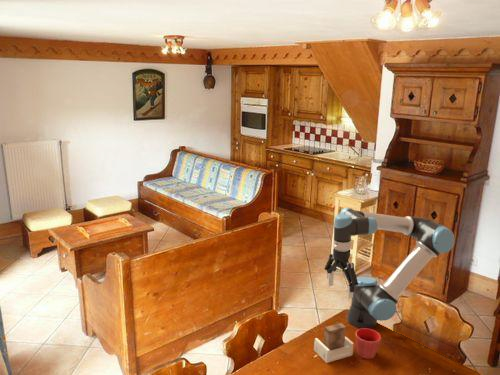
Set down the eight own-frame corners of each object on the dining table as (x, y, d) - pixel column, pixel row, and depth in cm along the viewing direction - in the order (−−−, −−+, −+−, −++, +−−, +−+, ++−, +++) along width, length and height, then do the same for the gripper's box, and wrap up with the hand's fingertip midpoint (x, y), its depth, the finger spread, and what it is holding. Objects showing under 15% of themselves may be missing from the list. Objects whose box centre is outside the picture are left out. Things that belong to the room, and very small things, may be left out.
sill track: (339, 343, 203) (340, 331, 202) (352, 355, 195) (353, 343, 193) (313, 350, 198) (314, 338, 196) (326, 363, 189) (327, 350, 187)
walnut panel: (327, 355, 192) (329, 331, 190) (322, 350, 196) (324, 327, 193) (343, 350, 196) (346, 326, 193) (339, 346, 199) (341, 322, 196)
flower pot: (379, 362, 190) (382, 343, 188) (354, 359, 192) (356, 339, 190) (377, 348, 200) (379, 329, 198) (353, 345, 202) (355, 326, 200)
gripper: (317, 241, 204) (316, 282, 209) (354, 260, 183) (352, 305, 188) (330, 238, 207) (328, 279, 213) (368, 256, 186) (365, 301, 192)
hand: (340, 291), depth 200 cm, fingers open, 13 cm apart
